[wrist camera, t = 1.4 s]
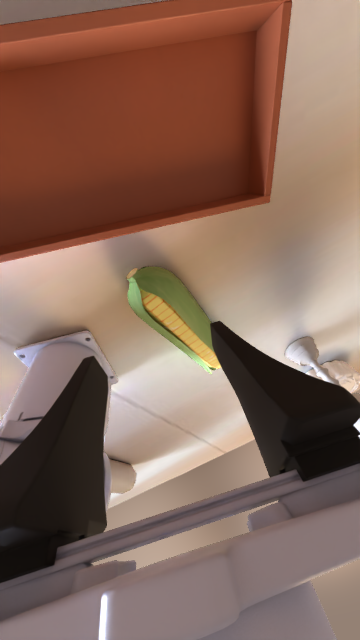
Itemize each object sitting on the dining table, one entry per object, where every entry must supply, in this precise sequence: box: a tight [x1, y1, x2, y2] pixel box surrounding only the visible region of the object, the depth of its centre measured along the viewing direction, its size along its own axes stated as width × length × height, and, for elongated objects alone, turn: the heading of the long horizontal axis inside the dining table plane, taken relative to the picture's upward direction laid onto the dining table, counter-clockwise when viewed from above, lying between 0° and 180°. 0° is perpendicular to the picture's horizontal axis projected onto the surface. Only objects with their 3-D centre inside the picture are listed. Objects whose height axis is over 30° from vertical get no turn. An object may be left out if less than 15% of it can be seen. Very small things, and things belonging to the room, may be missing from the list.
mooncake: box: [306, 360, 360, 393], centre depth 38 cm, size 12×12×4 cm
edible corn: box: [126, 267, 221, 374], centre depth 22 cm, size 5×20×5 cm, turn 35°
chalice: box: [285, 337, 360, 437], centre depth 25 cm, size 7×7×18 cm
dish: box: [0, 0, 292, 263], centre depth 12 cm, size 9×24×3 cm, turn 99°
